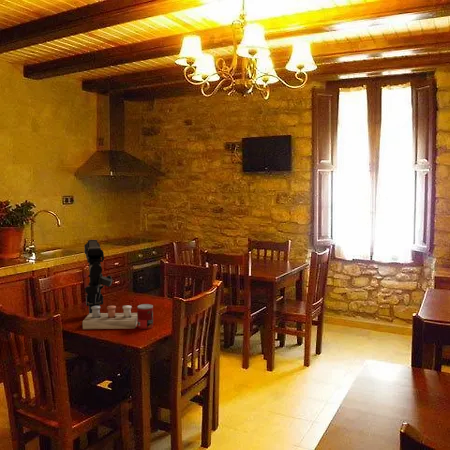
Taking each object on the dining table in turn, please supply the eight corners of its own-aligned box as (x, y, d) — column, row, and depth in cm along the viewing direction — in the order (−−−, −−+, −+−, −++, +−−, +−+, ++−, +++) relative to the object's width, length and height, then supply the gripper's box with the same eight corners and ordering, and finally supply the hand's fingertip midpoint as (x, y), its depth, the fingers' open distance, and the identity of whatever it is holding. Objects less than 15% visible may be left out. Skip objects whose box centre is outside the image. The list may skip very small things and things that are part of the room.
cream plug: (123, 316, 237) (123, 305, 237) (132, 316, 237) (132, 305, 237) (121, 319, 232) (121, 307, 232) (130, 318, 233) (130, 307, 232)
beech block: (89, 320, 241) (89, 313, 241) (139, 320, 242) (138, 312, 242) (82, 329, 227) (82, 321, 227) (134, 328, 228) (134, 320, 228)
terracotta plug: (108, 316, 237) (107, 305, 236) (117, 316, 237) (116, 305, 236) (106, 319, 232) (105, 308, 232) (115, 319, 232) (115, 307, 232)
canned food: (150, 330, 226) (149, 308, 225) (135, 328, 228) (134, 307, 227) (155, 325, 234) (155, 304, 233) (140, 324, 235) (140, 303, 234)
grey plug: (92, 316, 236) (92, 305, 236) (101, 316, 237) (101, 305, 236) (90, 319, 232) (90, 308, 231) (99, 319, 232) (99, 308, 231)
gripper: (107, 275, 223) (107, 306, 224) (114, 268, 242) (115, 297, 243) (84, 275, 223) (85, 307, 224) (93, 268, 241) (94, 297, 243)
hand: (95, 302), depth 233 cm, fingers open, 8 cm apart
